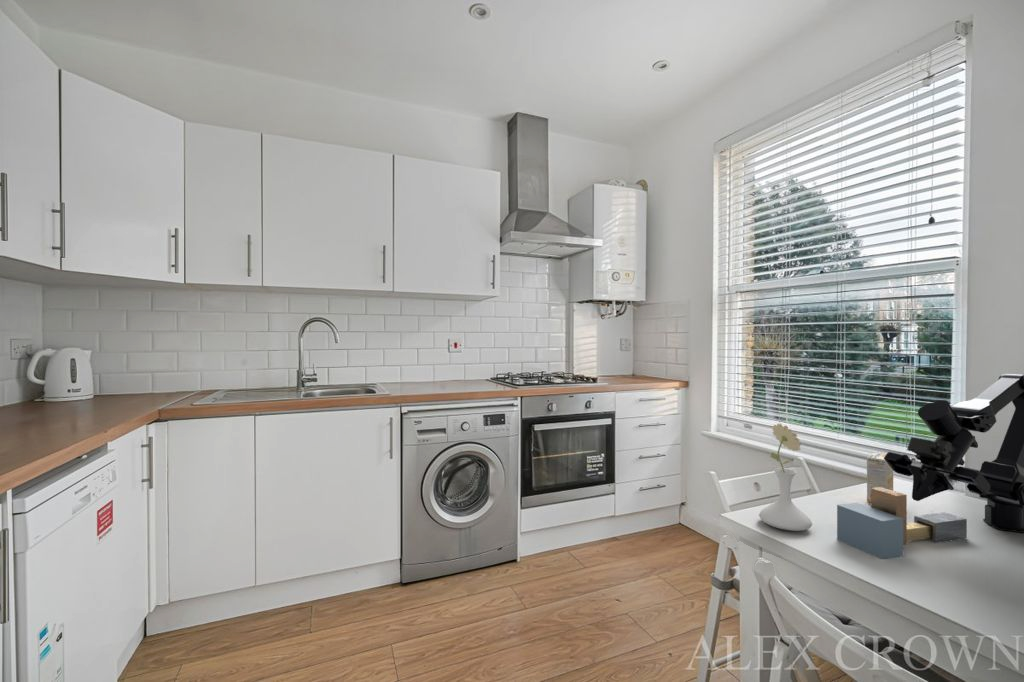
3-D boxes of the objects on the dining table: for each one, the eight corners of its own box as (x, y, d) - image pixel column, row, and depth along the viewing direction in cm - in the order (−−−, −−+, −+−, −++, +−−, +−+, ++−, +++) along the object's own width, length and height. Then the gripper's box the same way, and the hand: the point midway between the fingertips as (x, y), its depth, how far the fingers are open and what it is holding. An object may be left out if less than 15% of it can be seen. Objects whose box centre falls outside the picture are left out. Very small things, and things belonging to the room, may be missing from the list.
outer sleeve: (944, 531, 111) (944, 512, 111) (966, 538, 106) (966, 518, 107) (914, 535, 108) (914, 515, 108) (935, 543, 104) (935, 523, 104)
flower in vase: (821, 537, 107) (821, 430, 107) (768, 533, 109) (768, 428, 109) (798, 516, 119) (798, 421, 120) (750, 513, 122) (751, 419, 122)
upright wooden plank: (918, 529, 109) (918, 483, 109) (945, 539, 104) (945, 490, 104) (852, 538, 104) (852, 490, 104) (877, 549, 99) (877, 497, 99)
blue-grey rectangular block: (857, 536, 107) (857, 502, 107) (903, 555, 98) (903, 518, 98) (837, 539, 106) (837, 504, 106) (881, 559, 96) (882, 521, 96)
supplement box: (873, 495, 136) (873, 452, 137) (894, 500, 133) (894, 455, 133) (865, 501, 131) (865, 456, 131) (887, 506, 128) (887, 459, 128)
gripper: (889, 419, 116) (855, 466, 113) (980, 433, 98) (944, 489, 95) (912, 448, 118) (879, 494, 115) (1006, 467, 100) (971, 523, 97)
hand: (914, 499), depth 105 cm, fingers closed
